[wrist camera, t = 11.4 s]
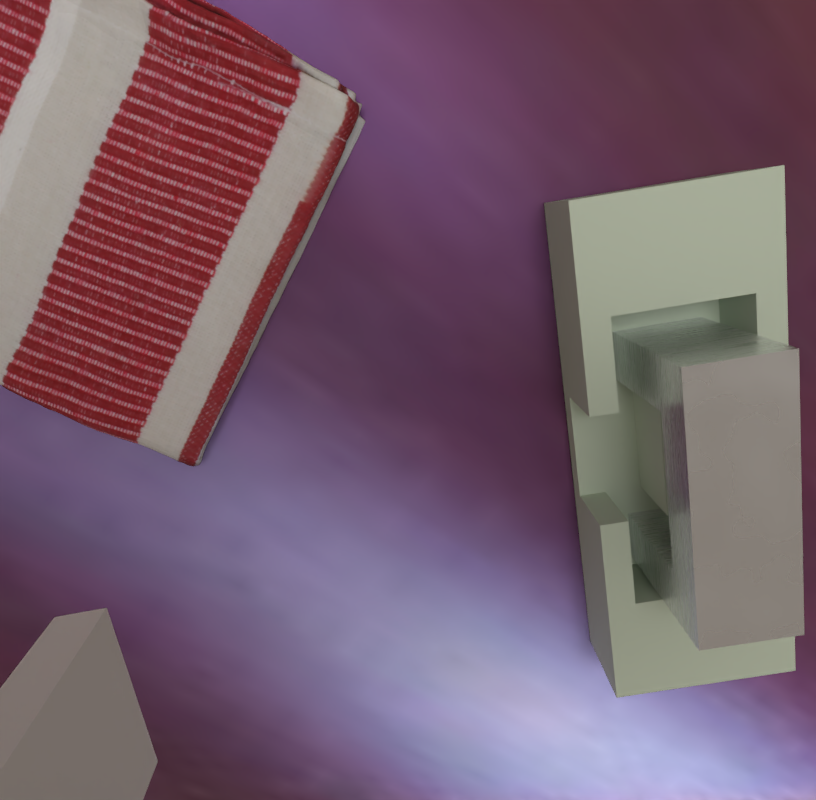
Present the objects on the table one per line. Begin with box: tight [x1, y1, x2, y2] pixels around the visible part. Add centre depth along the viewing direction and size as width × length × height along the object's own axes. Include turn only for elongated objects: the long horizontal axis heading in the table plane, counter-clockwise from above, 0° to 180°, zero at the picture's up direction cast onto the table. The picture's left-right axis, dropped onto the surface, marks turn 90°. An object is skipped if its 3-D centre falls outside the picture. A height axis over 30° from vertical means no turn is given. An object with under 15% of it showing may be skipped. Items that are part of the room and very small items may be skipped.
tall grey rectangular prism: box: [612, 317, 804, 651], centre depth 26 cm, size 10×4×7 cm, turn 9°
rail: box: [544, 165, 795, 697], centre depth 28 cm, size 20×7×4 cm, turn 9°
